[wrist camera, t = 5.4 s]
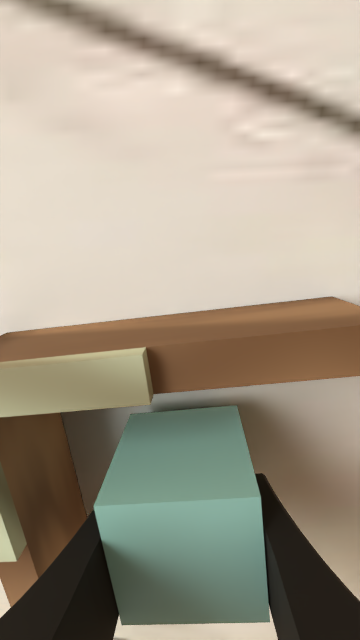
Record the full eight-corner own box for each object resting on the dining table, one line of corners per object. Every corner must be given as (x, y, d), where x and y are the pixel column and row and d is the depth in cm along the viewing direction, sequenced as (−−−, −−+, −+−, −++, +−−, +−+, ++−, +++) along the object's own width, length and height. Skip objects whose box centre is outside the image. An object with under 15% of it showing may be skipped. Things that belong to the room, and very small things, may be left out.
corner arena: (331, 567, 15) (389, 703, 10) (75, 577, 16) (30, 702, 12) (332, 296, 12) (417, 327, 7) (6, 332, 13) (-96, 378, 8)
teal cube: (236, 405, 12) (260, 496, 7) (244, 495, 13) (269, 622, 8) (130, 414, 12) (93, 506, 8) (146, 500, 13) (121, 625, 9)
